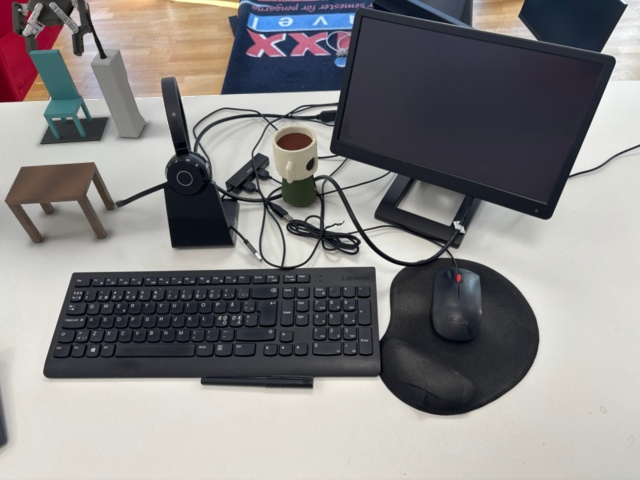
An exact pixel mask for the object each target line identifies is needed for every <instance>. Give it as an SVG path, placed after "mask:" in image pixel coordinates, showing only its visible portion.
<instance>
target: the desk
mask: <svg viewBox="0 0 640 480" xmlns="http://www.w3.org/2000/svg"><path fill="white" fill-rule="evenodd" d="M91 183H93V185H94V187H95V189H96V191H97V193H98V195H99V197H100V199H101V201H102V203H103V205H104V207H105V209H106V210H107V211H111V210H113V211H114V209H115V206H116V204H115V202H114V200H113V198H112V196H111V193H110V192H109V189H108V187H107V185H106V183H105V181H104V179H103V177H102V175H101V173H100V171H99V169H98V166H97V164H96V162H95V161H88V162H73V163H56V164H41V165H27V166H26V165H25V166H20V168H19V170H18V172H17V174H16V177H15V178H14V180H13V183H12V184H11V187H10V189H9V191H8V193H7V195H6V196H5V199H4V202H5V203H4V204H6V206H7V207H8V208H9V210H10V211H11V213H12V214H13V215H14V217H15V218H16V219H17V221H18V222H19V224H20V225H21V227H22V228H23V230H24V231H25V233H27V236H28V237H29V238H30V240H31V241H32V242H33V243H34V244H40V243H42V241H43V238H44V237H43V236H42V234H41V233H40V231H39V229H38V228H37V226H36V225H35V223H34V222H33V220H32V219H31V217H30V216H29V214H28V213H27V212H26V210H25V209H24V208H23V207H24V206H22V205H33V204H34V205H35V204H39V205H40V207H41V209H42V210H43V212H44V213H45V214H46V215H49V214H50V215H51V214H53V213H54V211H55V207H54V206H53V204H52V203H66V202H77V203H78V205H79V207H80V209H81V210H82V212H83V214H84V216H85V218H86V219H87V221H88V223H89V225H90V227H91V228H92V230H93V232H94V234H95V236H96V237H97V239H98V240H101V239H106V236H107V231H106V229H105V227H104V226H103V224H102V222H101V220H100V218H99V216H98V214H97V212H96V210H95V208H94V206H93V205H92V203H91V201H90V199H89V197H88V192H89V189H90V185H91Z"/></svg>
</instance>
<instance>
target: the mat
mask: <svg viewBox="0 0 640 480" xmlns="http://www.w3.org/2000/svg"><path fill="white" fill-rule="evenodd" d="M108 119H109V116H103V117H101V116H100V117H92V122H88V121H87V119H86V117H83V118H79V120H80V122H81V124H82V127H83V129H84V131H85V133H86V137H84V138H82V137H81V135H80V133H79V131H78V129H77V126H76V124H75V122H74V120H73V118H71V119H70V118H67V120H68V122H67V124H63V122H62V120H61V119H55V120H53V119H52V120H53V122H54V124H55V126H56V128H57V130H58V132H59V134H60V136H61V138H60V139H56V138H55V136H54V134H53V132H52V130H51V128H50V126H49V125H48V127H47V128H46V130H45V132H44V134H43V136H42V138H41V140H40V145H52V144H66V143H67V144H68V143H81V142H82V143H83V142H97V141H101V138H102V136H103V133H104V131H105V128H106V126H107V123H108Z"/></svg>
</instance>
